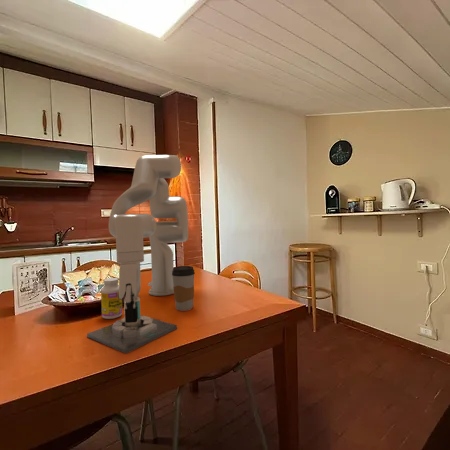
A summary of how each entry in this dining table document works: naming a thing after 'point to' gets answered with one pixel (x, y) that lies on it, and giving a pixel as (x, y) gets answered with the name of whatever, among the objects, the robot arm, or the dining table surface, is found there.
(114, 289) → the supplement bottle
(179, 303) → the coffee cup
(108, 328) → the hub plate
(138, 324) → the knob
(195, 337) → the dining table surface
